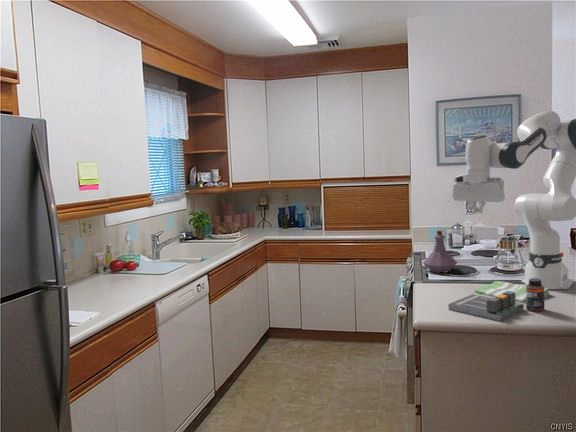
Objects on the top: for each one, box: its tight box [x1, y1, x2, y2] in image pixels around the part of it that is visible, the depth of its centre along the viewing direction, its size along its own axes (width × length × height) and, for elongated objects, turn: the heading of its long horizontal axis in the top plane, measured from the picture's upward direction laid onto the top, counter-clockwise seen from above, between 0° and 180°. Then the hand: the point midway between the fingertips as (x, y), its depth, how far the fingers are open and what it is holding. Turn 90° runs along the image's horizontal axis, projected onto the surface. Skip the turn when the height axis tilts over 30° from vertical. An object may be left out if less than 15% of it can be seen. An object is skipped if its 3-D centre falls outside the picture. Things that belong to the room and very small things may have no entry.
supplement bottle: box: [525, 278, 545, 313], centre depth 174 cm, size 6×6×11 cm
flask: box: [422, 230, 458, 273], centre depth 238 cm, size 16×16×20 cm
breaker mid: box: [494, 294, 508, 309], centre depth 173 cm, size 4×3×4 cm
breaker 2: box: [502, 291, 516, 305], centre depth 177 cm, size 4×3×4 cm
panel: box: [447, 293, 525, 322], centre depth 178 cm, size 17×20×2 cm
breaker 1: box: [487, 297, 501, 313], centre depth 170 cm, size 4×3×4 cm
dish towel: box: [474, 280, 550, 304], centre depth 196 cm, size 17×23×4 cm
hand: (478, 212), depth 190 cm, fingers closed
